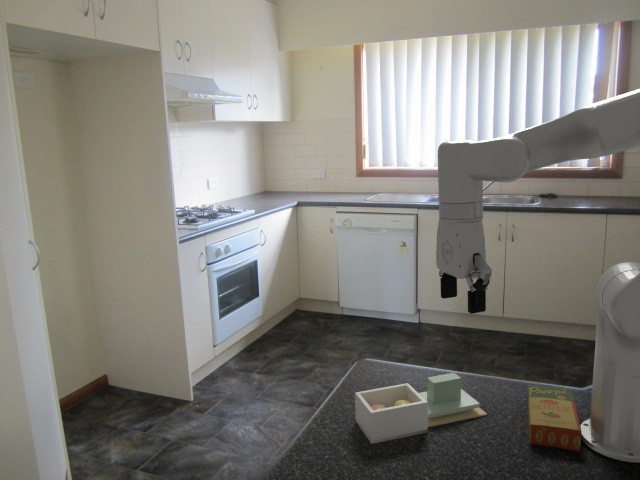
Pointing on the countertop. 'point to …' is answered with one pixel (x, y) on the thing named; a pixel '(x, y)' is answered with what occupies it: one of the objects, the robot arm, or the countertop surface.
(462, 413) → the mat
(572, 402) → the carton
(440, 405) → the lid
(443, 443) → the countertop surface
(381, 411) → the tub
